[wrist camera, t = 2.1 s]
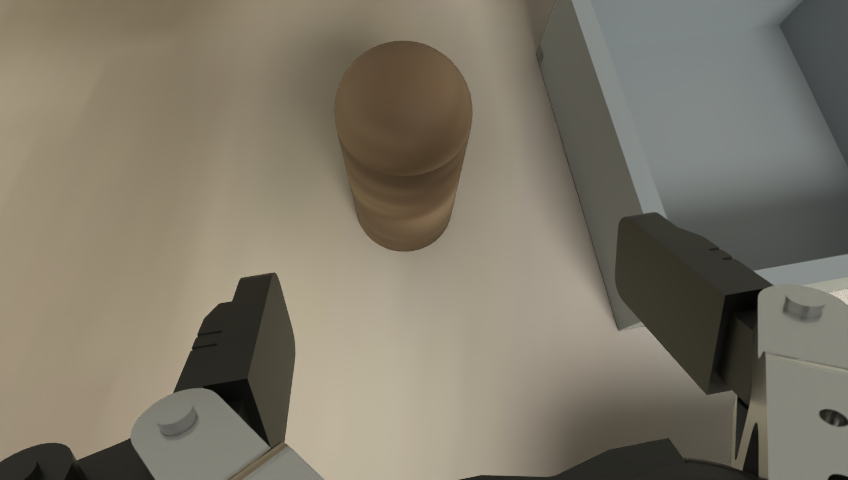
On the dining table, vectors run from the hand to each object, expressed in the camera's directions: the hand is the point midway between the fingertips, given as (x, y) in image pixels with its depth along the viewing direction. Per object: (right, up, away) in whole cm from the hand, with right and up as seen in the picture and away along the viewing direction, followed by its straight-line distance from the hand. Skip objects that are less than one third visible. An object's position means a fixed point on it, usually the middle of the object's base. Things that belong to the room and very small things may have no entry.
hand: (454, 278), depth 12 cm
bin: (+13, +5, +13) cm, 19 cm away
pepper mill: (-2, +2, +12) cm, 12 cm away
